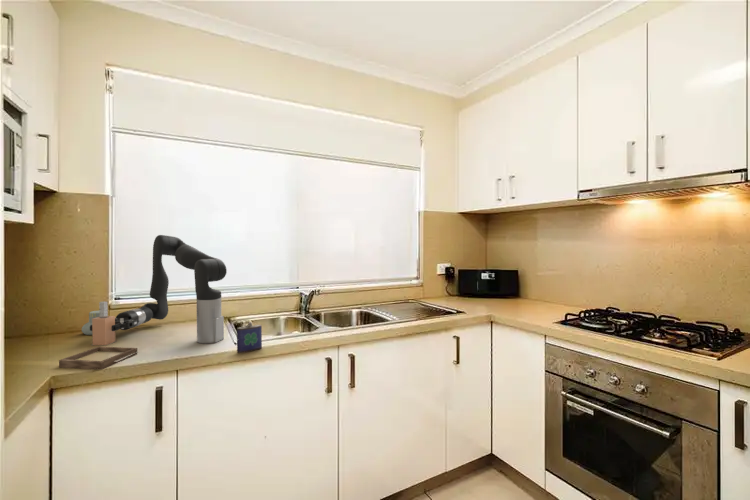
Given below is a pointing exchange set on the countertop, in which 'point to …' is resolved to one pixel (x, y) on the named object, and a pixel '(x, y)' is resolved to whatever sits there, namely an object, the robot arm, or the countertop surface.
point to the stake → (103, 312)
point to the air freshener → (90, 322)
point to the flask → (249, 338)
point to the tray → (86, 364)
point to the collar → (103, 330)
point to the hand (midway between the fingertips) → (101, 328)
